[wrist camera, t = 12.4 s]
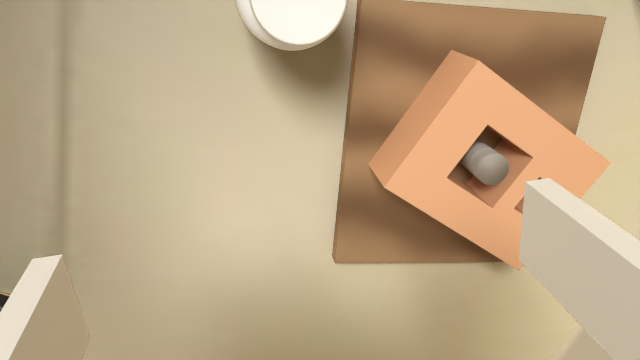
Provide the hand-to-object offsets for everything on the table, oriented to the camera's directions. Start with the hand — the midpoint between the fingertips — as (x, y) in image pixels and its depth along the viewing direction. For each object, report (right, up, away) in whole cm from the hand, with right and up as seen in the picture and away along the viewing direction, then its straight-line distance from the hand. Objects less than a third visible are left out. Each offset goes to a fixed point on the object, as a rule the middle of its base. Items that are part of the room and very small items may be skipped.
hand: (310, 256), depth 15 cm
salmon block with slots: (+12, +4, +25) cm, 28 cm away
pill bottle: (-2, +15, +20) cm, 25 cm away
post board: (+11, +5, +26) cm, 29 cm away
